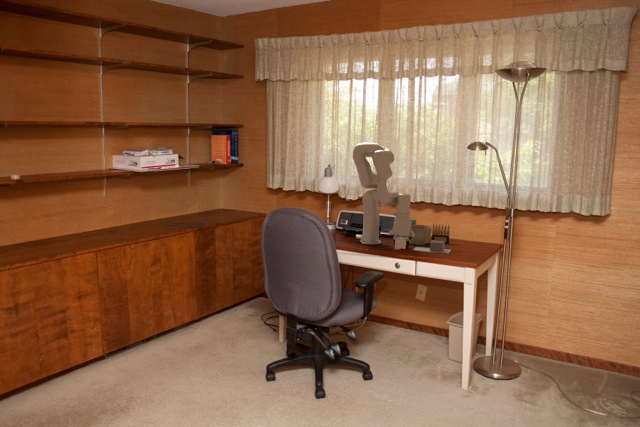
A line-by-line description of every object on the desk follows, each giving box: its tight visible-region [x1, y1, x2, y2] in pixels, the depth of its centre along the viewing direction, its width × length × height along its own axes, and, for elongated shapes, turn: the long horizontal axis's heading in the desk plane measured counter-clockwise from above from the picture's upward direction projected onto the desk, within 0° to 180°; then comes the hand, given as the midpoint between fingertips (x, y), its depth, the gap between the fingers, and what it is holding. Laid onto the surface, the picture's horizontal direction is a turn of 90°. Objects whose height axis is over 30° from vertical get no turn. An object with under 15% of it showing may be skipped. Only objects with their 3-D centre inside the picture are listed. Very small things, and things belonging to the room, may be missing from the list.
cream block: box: [394, 236, 407, 250], centre depth 322 cm, size 6×6×6 cm
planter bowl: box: [409, 224, 433, 245], centre depth 336 cm, size 16×16×11 cm
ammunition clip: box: [430, 223, 451, 245], centre depth 343 cm, size 11×2×12 cm, turn 75°
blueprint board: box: [411, 246, 452, 255], centre depth 316 cm, size 20×12×1 cm, turn 71°
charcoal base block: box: [429, 240, 446, 253], centre depth 315 cm, size 7×7×5 cm
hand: (401, 246), depth 322 cm, fingers closed on cream block, 6 cm apart
